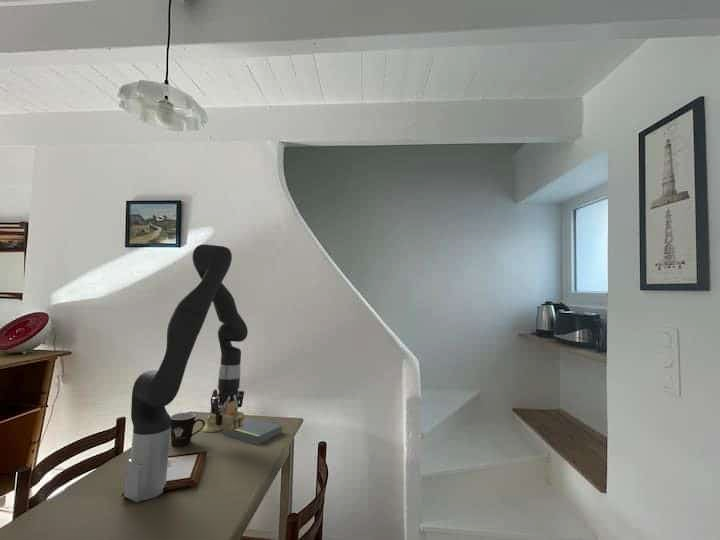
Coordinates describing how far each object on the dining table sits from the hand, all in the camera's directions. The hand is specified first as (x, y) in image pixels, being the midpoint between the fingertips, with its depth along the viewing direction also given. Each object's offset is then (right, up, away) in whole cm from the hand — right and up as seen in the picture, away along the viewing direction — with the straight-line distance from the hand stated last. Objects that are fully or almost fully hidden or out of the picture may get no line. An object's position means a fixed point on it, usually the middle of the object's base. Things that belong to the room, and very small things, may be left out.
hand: (226, 422), depth 130 cm
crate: (0, +4, 0) cm, 4 cm away
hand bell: (-12, -10, +17) cm, 23 cm away
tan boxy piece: (0, -1, 0) cm, 1 cm away
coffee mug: (-16, -9, +1) cm, 18 cm away
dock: (+6, -10, +13) cm, 18 cm away
